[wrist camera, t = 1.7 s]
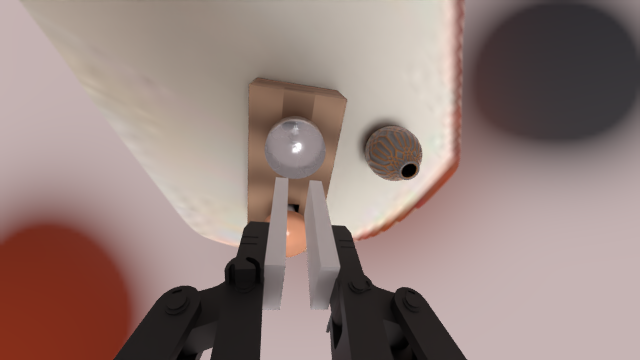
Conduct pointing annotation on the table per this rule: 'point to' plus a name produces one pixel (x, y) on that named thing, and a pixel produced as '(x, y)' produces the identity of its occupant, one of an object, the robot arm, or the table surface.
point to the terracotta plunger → (294, 232)
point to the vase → (394, 153)
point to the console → (264, 111)
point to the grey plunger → (295, 147)
